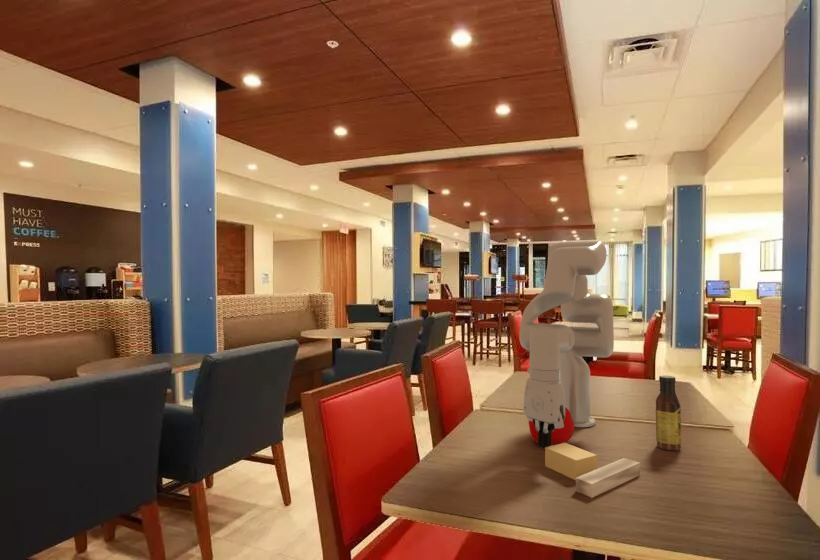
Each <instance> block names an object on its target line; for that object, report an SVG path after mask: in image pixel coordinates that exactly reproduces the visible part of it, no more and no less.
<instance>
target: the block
mask: <svg viewBox="0 0 820 560" xmlns="http://www.w3.org/2000/svg"><path fill="white" fill-rule="evenodd" d="M544 450H545V451H544V453H545V454H544V463H545V465H544V466H545V467H546V468H548V469H550V470H553V471H555V472H557V473H559V474H560V475H561V474H562V476H563V475H564V476H565V477H568V478H569V479H572V480H574V481H576V478H577V477H579V476H581V475H584V474H586V473H589V472H591V471H593V470H596V469H598V455H597V454H595V453H593V452H590V451H587V450H585V449H582V448H579V447H577V446H575V445H572V444H571V443H570V444H569V443H567V442H566V443H562V444H557V445H551V446H548V447H545V449H544Z"/></svg>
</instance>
